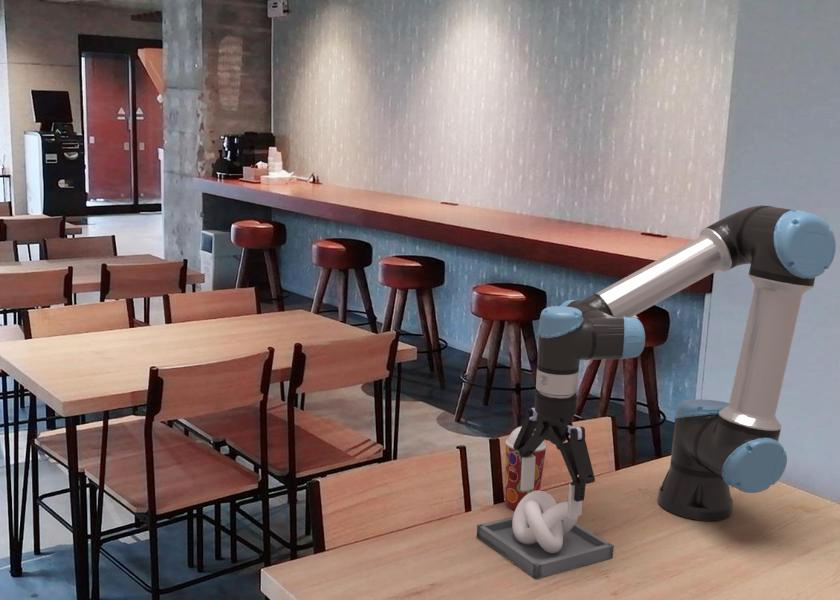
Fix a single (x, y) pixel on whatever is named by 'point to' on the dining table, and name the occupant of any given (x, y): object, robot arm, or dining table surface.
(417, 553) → the dining table surface
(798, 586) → the dining table surface
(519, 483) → the smoothie
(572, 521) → the white trefoil knot
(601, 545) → the tray
